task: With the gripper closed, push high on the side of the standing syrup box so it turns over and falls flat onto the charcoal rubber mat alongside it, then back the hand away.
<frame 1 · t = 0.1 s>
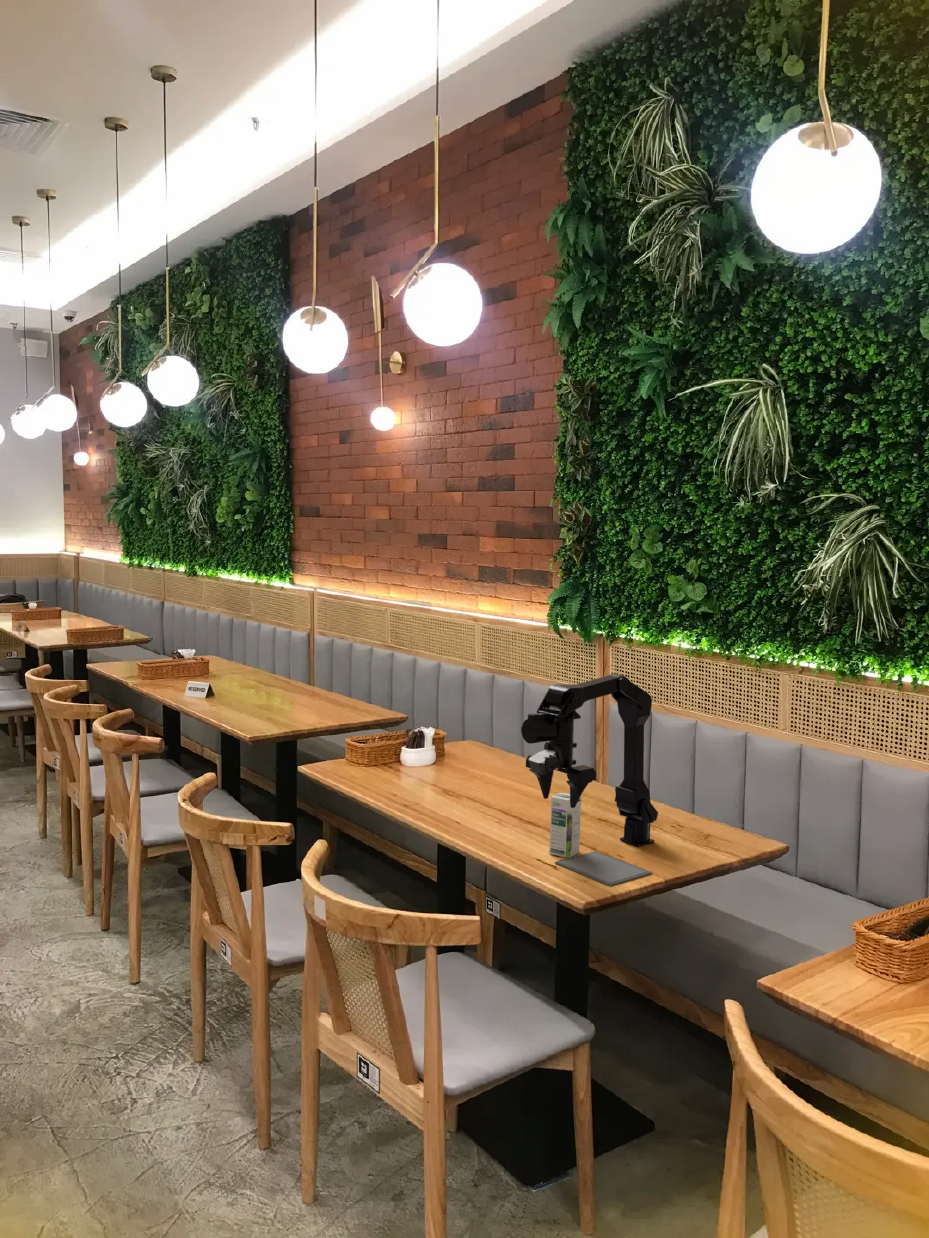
hand: (559, 803, 228), 15 cm above the table, fingers open, 9 cm apart
syrup box: (564, 854, 236), on the table
mat: (602, 868, 226), on the table
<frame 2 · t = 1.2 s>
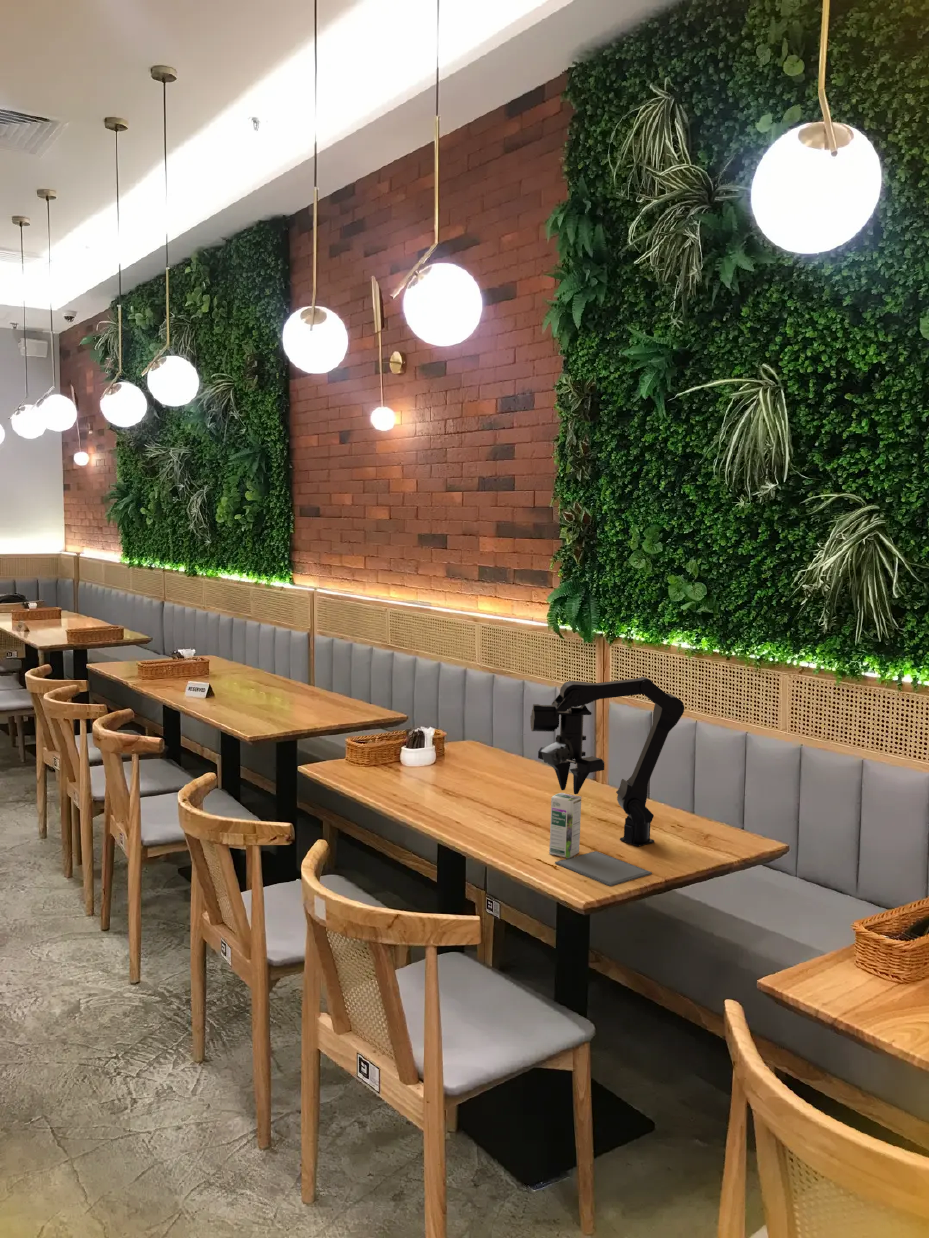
hand: (569, 791, 244), 13 cm above the table, fingers open, 4 cm apart
nothing on the table moved.
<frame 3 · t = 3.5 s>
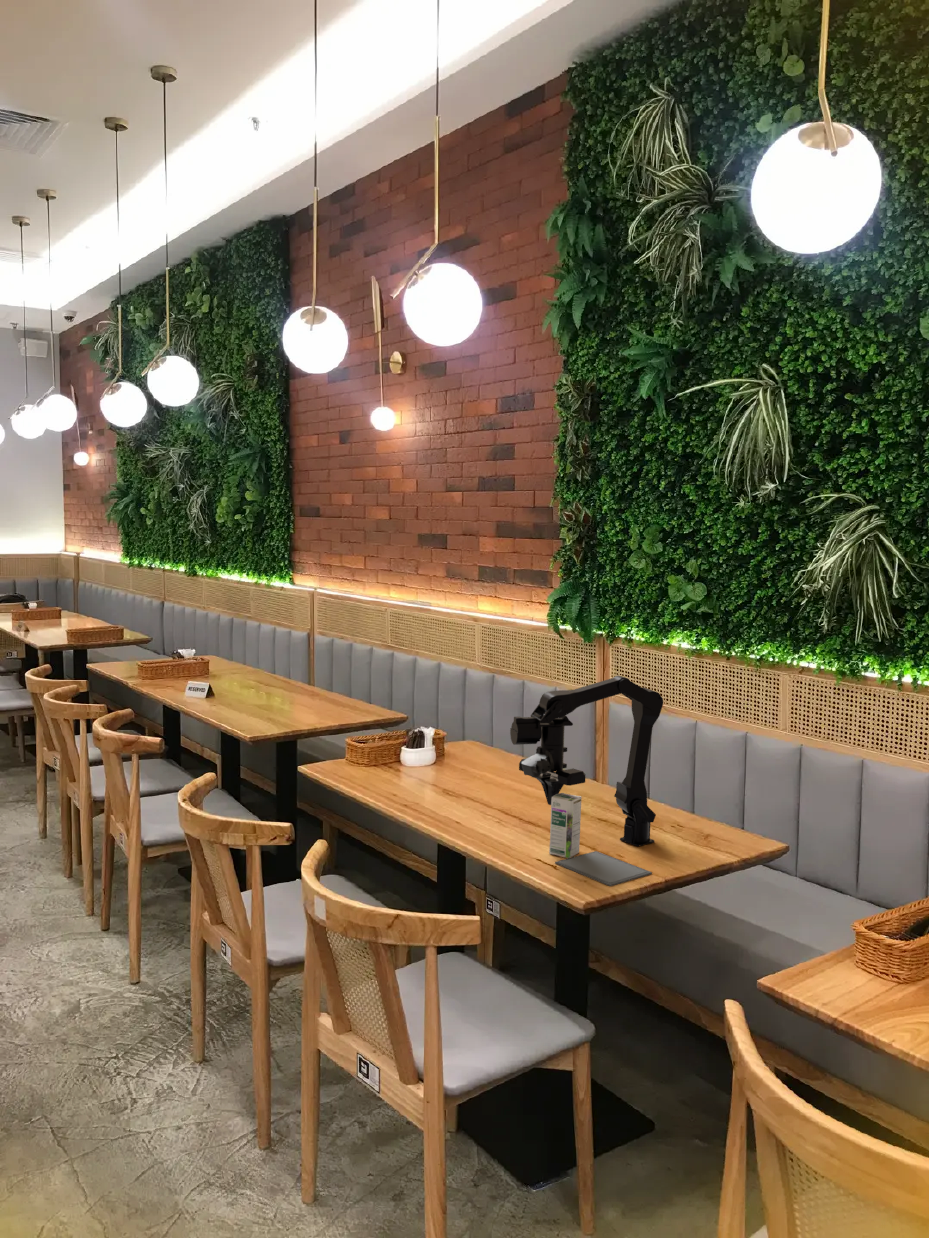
hand: (550, 804, 239), 11 cm above the table, fingers closed
syrup box: (564, 854, 236), on the table, touching gripper
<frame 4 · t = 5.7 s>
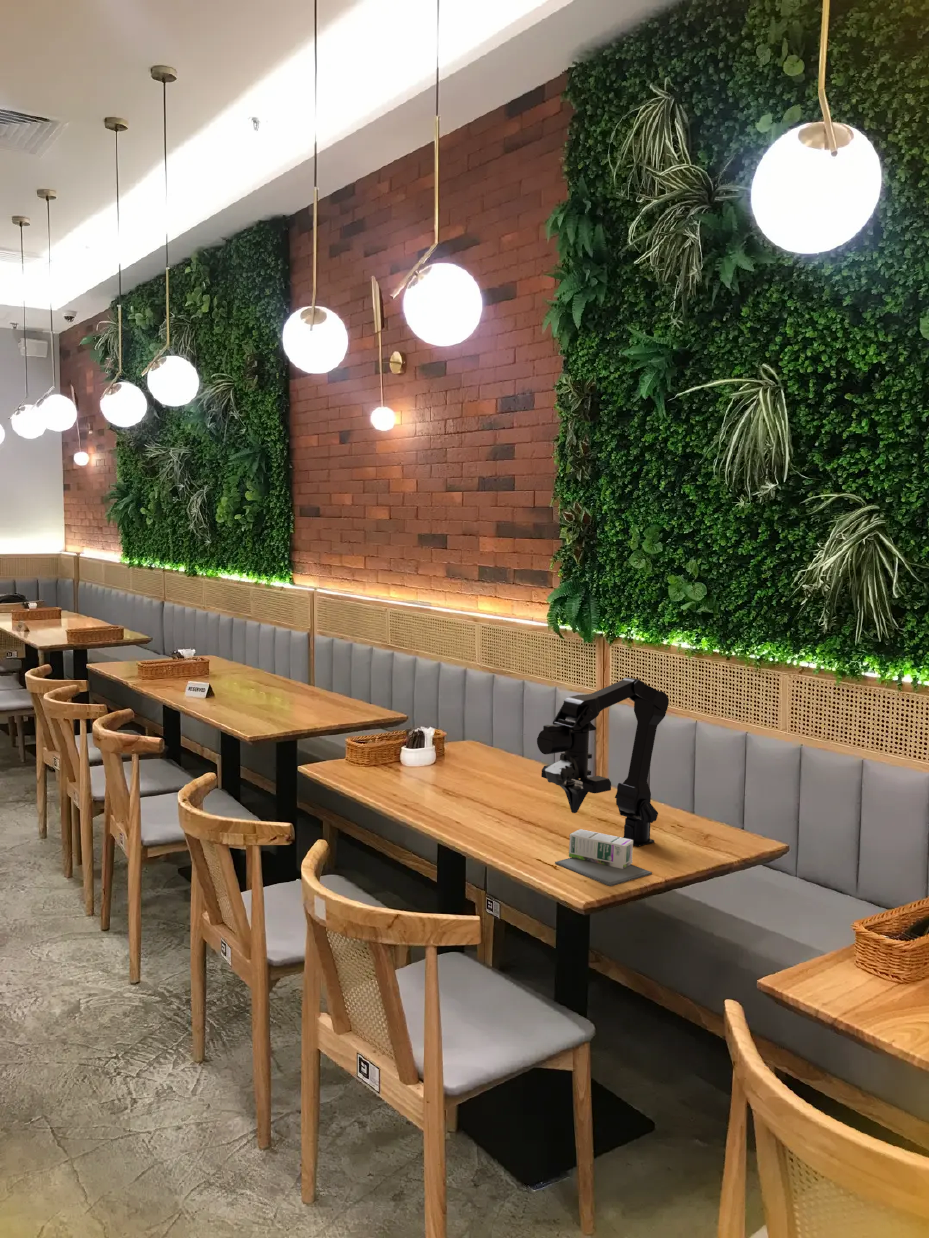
hand: (574, 812, 233), 11 cm above the table, fingers closed
syrup box: (573, 842, 234), point 3 cm above the table, touching mat
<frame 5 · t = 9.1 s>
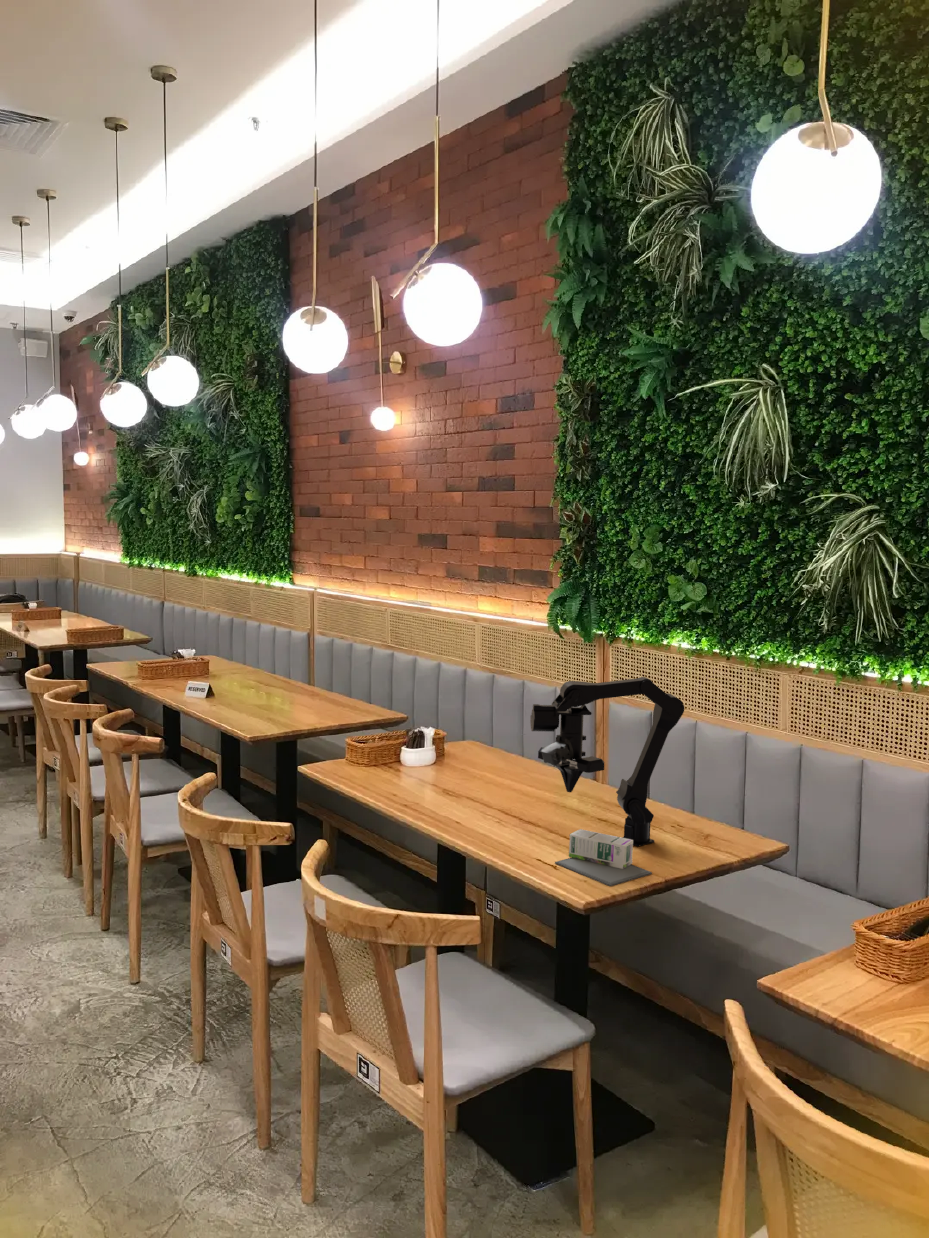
hand: (569, 791, 244), 13 cm above the table, fingers closed
nothing on the table moved.
at the end: syrup box tilted 90°; syrup box 10.7 cm from the mat (horizontally); syrup box point 3.4 cm above the table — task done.
